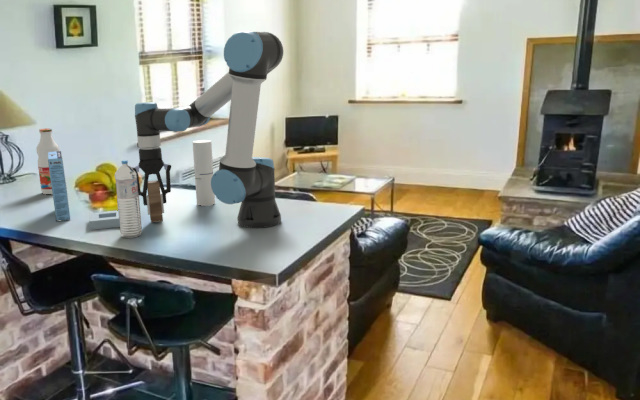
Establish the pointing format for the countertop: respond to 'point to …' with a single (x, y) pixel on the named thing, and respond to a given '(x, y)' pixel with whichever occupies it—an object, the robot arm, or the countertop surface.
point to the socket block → (104, 220)
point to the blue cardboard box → (58, 185)
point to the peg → (155, 201)
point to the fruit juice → (45, 158)
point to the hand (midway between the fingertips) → (155, 213)
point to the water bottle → (128, 201)
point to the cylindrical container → (203, 172)
